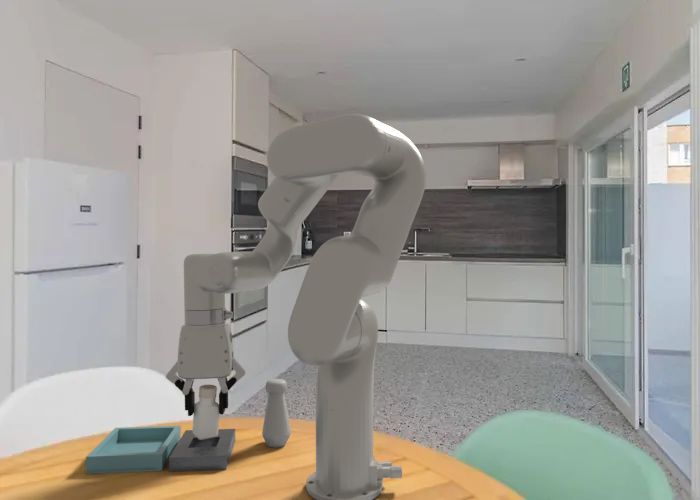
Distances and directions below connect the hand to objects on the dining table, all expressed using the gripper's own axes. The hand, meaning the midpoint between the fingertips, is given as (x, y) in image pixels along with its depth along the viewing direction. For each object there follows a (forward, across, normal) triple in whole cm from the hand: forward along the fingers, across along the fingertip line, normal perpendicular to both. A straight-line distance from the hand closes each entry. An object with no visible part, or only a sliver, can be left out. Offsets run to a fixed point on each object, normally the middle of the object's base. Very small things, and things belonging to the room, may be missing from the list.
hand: (206, 412), depth 101 cm
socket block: (+8, +1, 0) cm, 8 cm away
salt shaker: (+9, -13, -5) cm, 16 cm away
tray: (+8, +13, -1) cm, 16 cm away
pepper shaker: (+5, 0, 0) cm, 5 cm away
